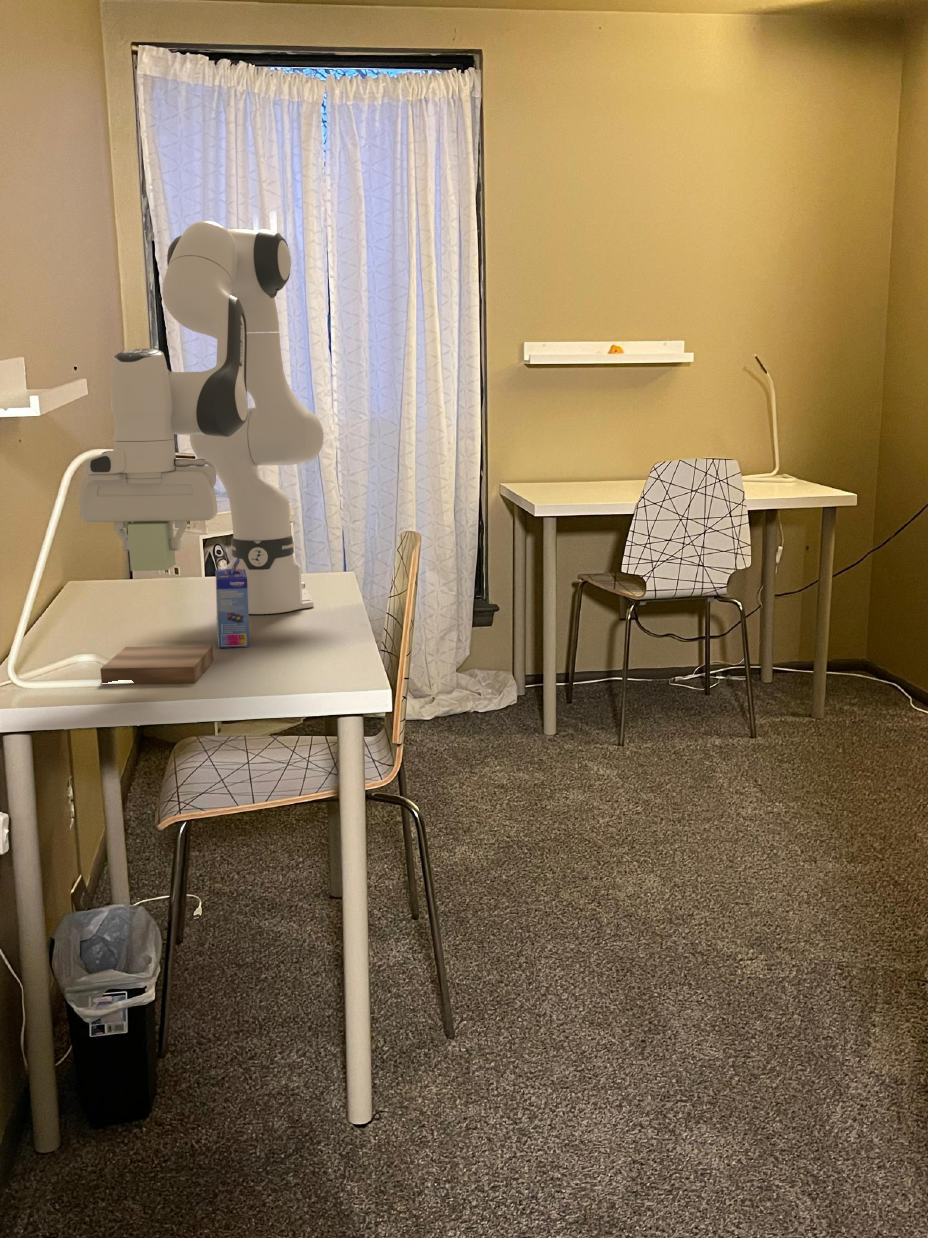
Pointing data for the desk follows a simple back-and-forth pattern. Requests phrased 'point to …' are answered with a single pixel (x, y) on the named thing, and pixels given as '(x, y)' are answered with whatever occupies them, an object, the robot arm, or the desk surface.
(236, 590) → the ink cartridge box
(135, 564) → the sage block
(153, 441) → the robot arm
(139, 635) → the desk surface
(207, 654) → the walnut base
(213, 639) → the desk surface
